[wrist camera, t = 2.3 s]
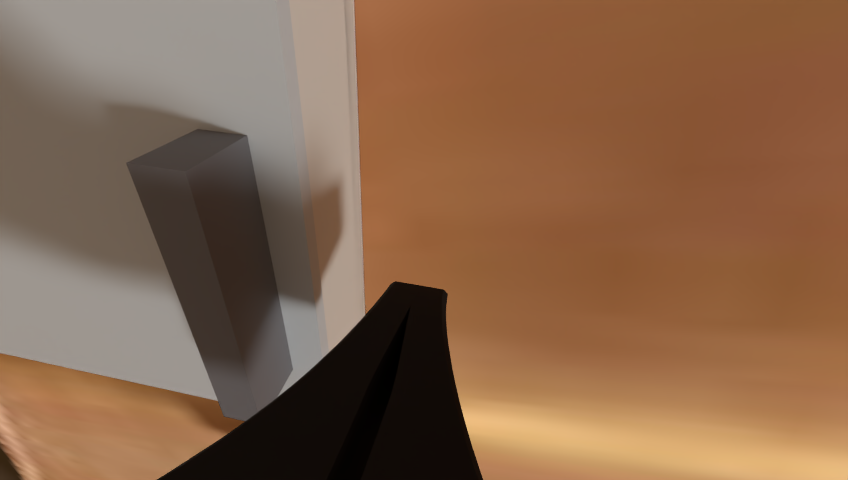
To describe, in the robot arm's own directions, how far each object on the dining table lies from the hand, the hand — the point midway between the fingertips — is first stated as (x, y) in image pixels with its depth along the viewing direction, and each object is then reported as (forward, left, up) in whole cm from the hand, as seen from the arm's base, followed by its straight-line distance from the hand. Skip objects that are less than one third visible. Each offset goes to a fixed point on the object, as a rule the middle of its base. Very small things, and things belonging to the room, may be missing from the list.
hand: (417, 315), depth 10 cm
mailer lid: (0, +12, -1) cm, 12 cm away
